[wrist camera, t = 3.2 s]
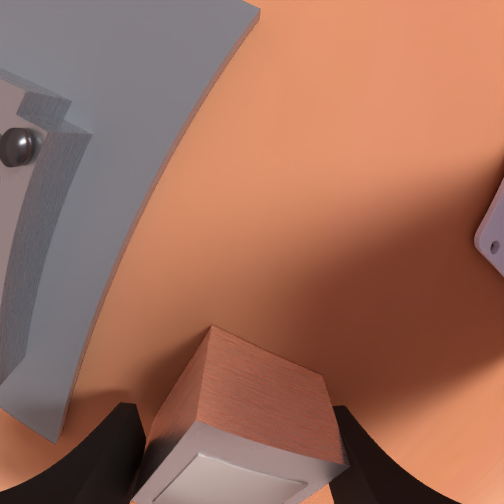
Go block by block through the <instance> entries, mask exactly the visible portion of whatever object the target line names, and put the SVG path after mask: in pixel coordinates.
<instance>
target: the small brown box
mask: <svg viewBox="0 0 504 504" xmlns="http://www.w3.org/2000/svg"><path fill="white" fill-rule="evenodd" d="M348 467H350V463H349V460H348V457H347V453H346V450H345V447H344V443H343V440H342V437H341V433H340V430H339V427H338V424H337V420H336V417H335V414H334V411H333V408H332V404H331V401H330V398H329V395H328V392H327V388H326V385H325V382H324V379H323V376H322V375H321V374H318V373H316V372H313V371H311V370H309V369H306V368H304V367H302V366H299V365H297V364H295V363H292V362H290V361H288V360H286V359H283V358H281V357H279V356H277V355H274V354H272V353H270V352H268V351H266V350H263V349H261V348H259V347H257V346H255V345H253V344H251V343H248V342H246V341H244V340H242V339H240V338H238V337H236V336H234V335H232V334H230V333H228V332H226V331H224V330H222V329H219V328H217V327H215V326H213V325H212V326H211V327H210V329H209V331H208V332H207V334H206V336H205V337H204V339H203V340H202V342H201V344H200V345H199V347H198V348H197V350H196V352H195V353H194V355H193V356H192V358H191V360H190V361H189V363H188V365H187V366H186V368H185V369H184V371H183V373H182V374H181V376H180V377H179V379H178V381H177V382H176V384H175V385H174V387H173V389H172V390H171V392H170V393H169V395H168V397H167V398H166V400H165V401H164V403H163V405H162V406H161V408H160V409H159V411H158V413H157V414H156V416H155V417H154V420H153V423H152V427H151V430H150V434H149V437H148V440H147V444H146V447H145V451H144V455H143V459H142V462H141V465H140V469H139V472H138V476H137V480H136V483H135V487H134V491H133V494H132V498H131V501H133V502H136V503H139V504H299V503H301V502H302V501H304V500H305V499H307V498H308V497H309V496H311V495H312V494H314V493H315V492H317V491H318V490H319V489H321V488H322V487H324V486H325V485H326V484H328V483H329V482H330V481H332V480H333V479H334V478H336V477H337V476H338V475H339V474H341V473H342V472H343V471H345V470H346V469H347V468H348Z"/></svg>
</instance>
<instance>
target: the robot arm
mask: <svg viewBox="0 0 504 504" xmlns="http://www.w3.org/2000/svg"><path fill="white" fill-rule="evenodd" d="M492 243H493V247H492V249H491V250H490V247H491V245H492ZM474 244H475V247H476V249H477V250H478V251H479V252H480V253H481V254H482V255H483V256H484V257H485V258H486V259H487V260H488V261H489V262H490V263H491V264H492V265H493V266H494V267H495V268H496V270H497V271H498V272H499V273H500V274H501V275H502V276H503V277H504V178H503V180H502V182H501V185H500V187H499V189H498V191H497V193H496V195H495V197H494V199H493V201H492V203H491V205H490V207H489V209H488V211H487V213H486V215H485V216H484V218H483V220H482V222H481V224H480V226H479V227H478V229H477V231H476V234H475V237H474ZM332 408H333V411H334V414H335V417H336V420H337V424H338V427H339V430H340V433H341V437H342V440H343V443H344V447H345V450H346V453H347V457H348V460H349V463H350V467H348V468H347V469H346V470H345V471H343V472H342V473H341V474H339V475H338V476H337V477H336V478H334V479H333V480H332V481H330V482H329V486H330V490H331V493H332V497H333V500H334V504H461V503H459V502H456V501H454V500H452V499H450V498H448V497H446V496H444V495H442V494H440V493H438V492H437V491H435V490H433V489H431V488H430V487H428V486H426V485H425V484H423V483H422V482H420V481H419V480H417V479H416V478H415V477H413V476H412V475H410V474H409V473H408V472H407V471H405V470H404V469H403V468H402V467H400V466H399V465H398V464H397V463H396V462H395V461H394V460H393V459H392V458H391V457H389V456H388V455H387V454H386V453H385V452H384V451H383V450H382V449H381V448H380V447H379V446H378V444H377V443H376V442H375V441H374V440H373V439H372V438H371V437H370V436H369V435H368V433H367V432H366V431H365V430H364V429H363V428H362V426H361V425H360V424H359V423H358V422H357V420H356V419H355V418H354V416H353V415H352V414H351V413H350V411H349V410H348V409H347V407H346V406H344V405H342V406H332ZM145 444H146V436H145V433H144V430H143V427H142V424H141V420H140V417H139V414H138V410H137V407H136V404H131V403H123V402H120V403H119V404H118V405H117V406H116V407H115V408H114V409H113V410H112V412H111V413H110V414H109V415H108V416H107V417H106V418H105V419H104V420H103V421H102V422H101V423H100V424H99V425H98V426H97V427H96V428H95V429H94V430H93V431H92V432H91V433H90V434H89V435H88V436H87V437H86V438H85V439H84V440H83V441H82V442H81V443H80V444H79V445H78V446H77V447H75V448H74V449H73V450H72V451H71V452H70V453H69V454H67V455H66V456H65V457H64V458H62V459H61V460H60V461H58V462H57V463H56V464H54V465H53V466H51V467H50V468H48V469H47V470H45V471H44V472H42V473H40V474H38V475H37V476H35V477H33V478H31V479H30V480H28V481H26V482H23V483H21V484H19V485H17V486H15V487H12V488H10V489H7V490H4V491H1V492H0V504H130V500H131V497H132V494H133V491H134V487H135V483H136V480H137V476H138V472H139V469H140V465H141V462H142V459H143V455H144V450H145Z"/></svg>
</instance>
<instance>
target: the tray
mask: <svg viewBox="0 0 504 504" xmlns="http://www.w3.org/2000/svg"><path fill="white" fill-rule="evenodd" d="M259 18H260V8H257V7H255V6H253V5H251V4H249V3H247V2H244V1H242V0H0V408H2V409H3V410H4V411H6V412H7V413H9V414H10V415H11V416H13V417H14V418H15V419H17V420H18V421H20V422H21V423H23V424H24V425H26V426H27V427H29V428H30V429H32V430H33V431H35V432H36V433H38V434H39V435H41V436H42V437H44V438H46V439H47V440H49V441H51V442H52V443H54V444H57V442H58V440H59V438H60V436H61V434H62V430H63V426H64V422H65V418H66V415H67V411H68V407H69V404H70V400H71V397H72V393H73V390H74V387H75V383H76V380H77V377H78V374H79V370H80V367H81V364H82V361H83V358H84V355H85V352H86V349H87V346H88V343H89V340H90V338H91V335H92V332H93V329H94V326H95V324H96V321H97V318H98V316H99V313H100V310H101V308H102V305H103V303H104V300H105V297H106V295H107V292H108V290H109V287H110V285H111V283H112V280H113V278H114V275H115V273H116V271H117V268H118V266H119V264H120V261H121V259H122V257H123V254H124V252H125V250H126V248H127V245H128V243H129V241H130V239H131V236H132V234H133V232H134V230H135V228H136V226H137V224H138V221H139V219H140V217H141V215H142V213H143V211H144V209H145V207H146V205H147V203H148V201H149V199H150V197H151V195H152V193H153V191H154V189H155V187H156V185H157V183H158V181H159V179H160V177H161V175H162V174H163V172H164V170H165V168H166V166H167V164H168V162H169V160H170V159H171V157H172V155H173V153H174V151H175V149H176V148H177V146H178V144H179V142H180V141H181V139H182V137H183V135H184V134H185V132H186V130H187V128H188V127H189V125H190V123H191V122H192V120H193V118H194V116H195V115H196V113H197V111H198V110H199V108H200V107H201V105H202V103H203V102H204V100H205V98H206V97H207V95H208V94H209V92H210V90H211V89H212V87H213V86H214V84H215V83H216V81H217V79H218V78H219V76H220V75H221V73H222V72H223V70H224V69H225V67H226V66H227V64H228V63H229V61H230V60H231V58H232V57H233V55H234V54H235V53H236V51H237V50H238V48H239V47H240V45H241V44H242V43H243V41H244V40H245V38H246V37H247V36H248V34H249V33H250V31H251V30H252V29H253V27H254V26H255V25H256V23H257V22H258V20H259Z"/></svg>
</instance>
